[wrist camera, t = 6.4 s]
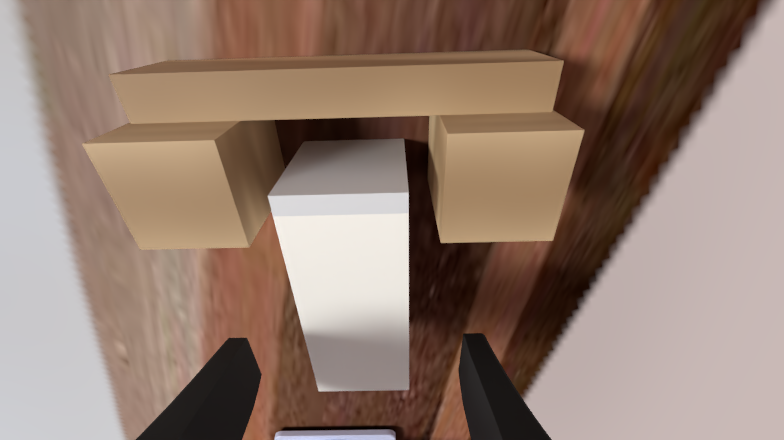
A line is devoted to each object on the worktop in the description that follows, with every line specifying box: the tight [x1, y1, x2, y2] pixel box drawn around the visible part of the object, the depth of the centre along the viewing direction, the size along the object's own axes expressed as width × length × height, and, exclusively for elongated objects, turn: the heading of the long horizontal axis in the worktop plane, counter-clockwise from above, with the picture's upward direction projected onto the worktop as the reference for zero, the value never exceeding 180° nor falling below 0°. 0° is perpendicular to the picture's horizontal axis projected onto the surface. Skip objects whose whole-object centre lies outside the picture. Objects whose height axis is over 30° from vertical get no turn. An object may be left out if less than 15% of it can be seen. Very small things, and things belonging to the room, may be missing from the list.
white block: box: [268, 139, 409, 391], centre depth 12 cm, size 9×4×4 cm, turn 2°
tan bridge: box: [82, 50, 585, 250], centre depth 10 cm, size 4×11×4 cm, turn 91°
